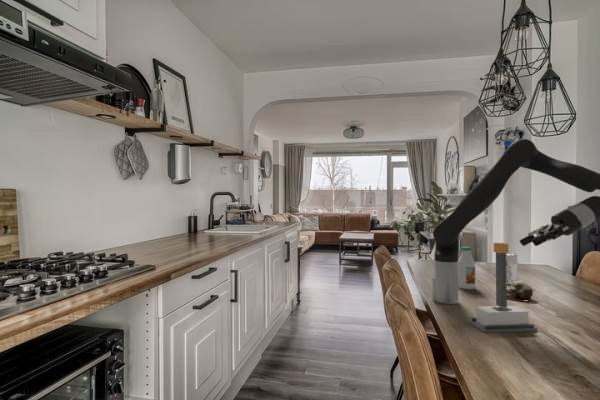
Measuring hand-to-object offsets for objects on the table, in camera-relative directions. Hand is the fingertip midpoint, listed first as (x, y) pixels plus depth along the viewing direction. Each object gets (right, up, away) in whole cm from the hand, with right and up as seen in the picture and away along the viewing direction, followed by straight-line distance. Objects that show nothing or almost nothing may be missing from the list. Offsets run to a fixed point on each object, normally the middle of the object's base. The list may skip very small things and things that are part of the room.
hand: (527, 243), depth 113 cm
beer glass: (+32, -29, +62) cm, 76 cm away
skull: (+20, -29, +36) cm, 50 cm away
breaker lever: (-8, -22, +2) cm, 24 cm away
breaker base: (-8, -28, +2) cm, 29 cm away
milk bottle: (+6, -29, +54) cm, 62 cm away
